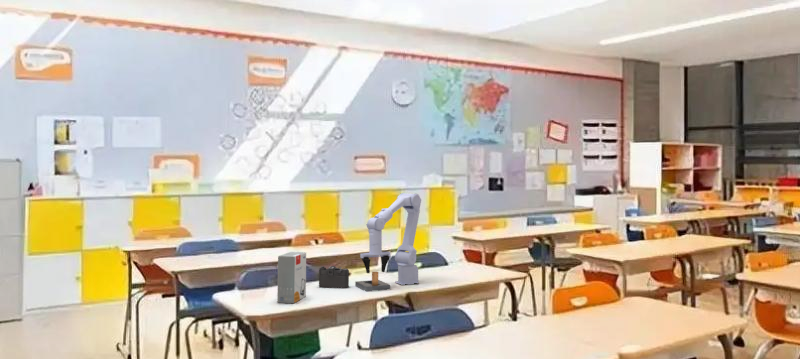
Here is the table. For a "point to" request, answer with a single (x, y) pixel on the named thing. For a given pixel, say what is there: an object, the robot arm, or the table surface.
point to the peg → (374, 278)
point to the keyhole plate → (369, 287)
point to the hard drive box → (291, 277)
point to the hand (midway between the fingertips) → (375, 272)
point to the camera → (333, 277)
